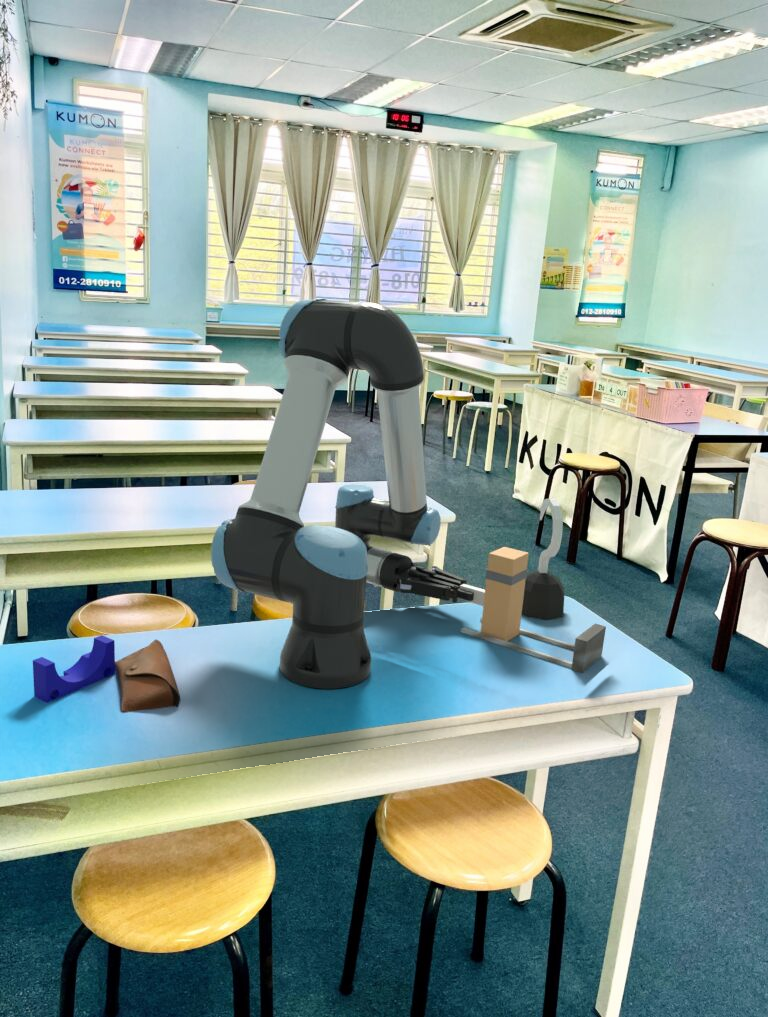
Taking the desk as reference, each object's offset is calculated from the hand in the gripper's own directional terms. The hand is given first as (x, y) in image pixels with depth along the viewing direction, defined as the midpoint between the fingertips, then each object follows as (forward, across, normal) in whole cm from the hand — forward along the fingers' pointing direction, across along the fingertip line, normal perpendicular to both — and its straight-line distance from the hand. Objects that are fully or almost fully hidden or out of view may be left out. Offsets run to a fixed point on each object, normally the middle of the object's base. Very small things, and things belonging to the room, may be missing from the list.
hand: (491, 599), depth 145 cm
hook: (+3, -17, -8) cm, 19 cm away
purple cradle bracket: (-39, +62, -8) cm, 73 cm away
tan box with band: (+3, +1, -6) cm, 7 cm away
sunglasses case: (-31, +54, -8) cm, 63 cm away
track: (+9, +1, -8) cm, 12 cm away
